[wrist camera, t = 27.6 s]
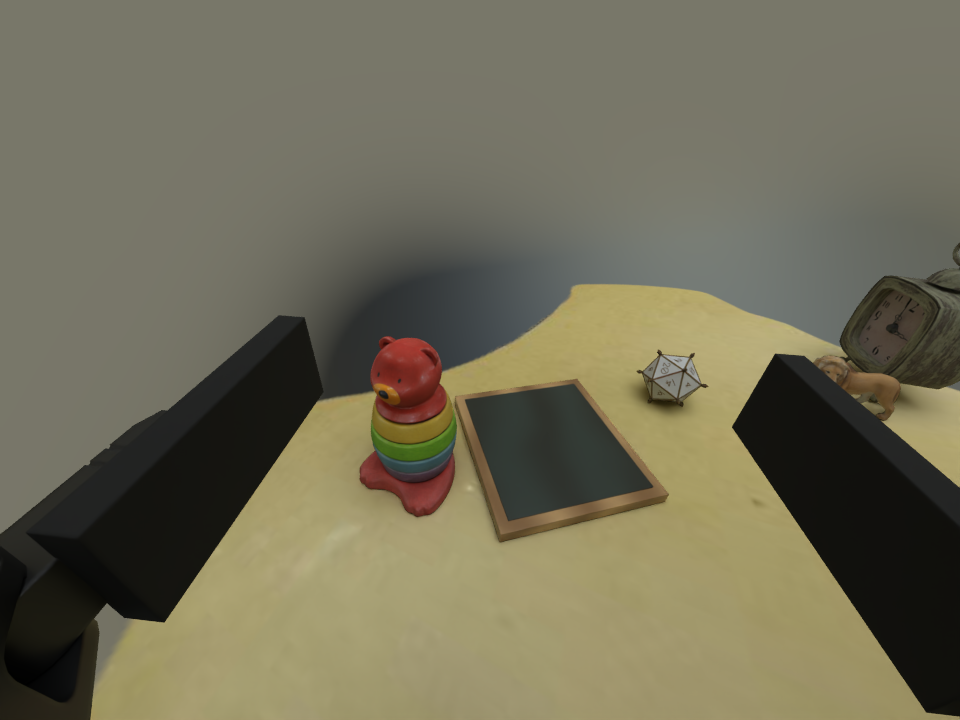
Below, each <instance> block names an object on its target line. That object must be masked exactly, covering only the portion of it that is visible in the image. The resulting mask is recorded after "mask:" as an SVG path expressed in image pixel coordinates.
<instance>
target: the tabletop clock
mask: <svg viewBox="0 0 960 720" xmlns="http://www.w3.org/2000/svg"><path fill="white" fill-rule="evenodd" d="M959 249H960V243H959V244H958V245H957V246H956V247H955V249H954V251H953V259H954V261H955V262H956V264H957V265H959V266H960V257H959V255H958V251H959ZM840 345H841V347H842V349H843V351H844V352H845V353H846V355H847V356H848V357H847V358H844V357H839V358H842V359H843V360H844V361H845V362H846V363H847V362H848V361H849V360H852V362H853V363H854V364H855V365H856V366H858V367H859V368H860V369H861V370H863V371H864V372H865V373H882V374H885V375H888V376H891V377H893V378H895V379H896V380H897V381H898V382H899V383H902V384H908V385H914V386H921V387H927V388H933V389H940V388H943V387H946V386H950V385H953V384H955V383H956V382H958V381H960V268H959V269H954V268H953V269H945V270H942V271H939V272H937V273H934V274H932V275H931V276H930V277H928V278H927V280H925V279H916V278H907V277H898V276H884V277H883V278H882V279H881V280H879V281H878V282H877V283H876V284H875V285H874V286H873V288H872V289H871V290H870V291H869V292H868V294H867V295H866V296H865V298H864V299H863V300H862V302H861V303H860V304H859V306H858V307H857V308H856V310H855V311H854V313H853V315H852V316H851V318H850V320H849V321H848V323H847V325H846V326H845V328H844V331H843V332H842V335H841V338H840ZM870 400H872V401H873V402H878V401H877V399H876V396H875V395H874V394H873V395H871V396H870Z"/></svg>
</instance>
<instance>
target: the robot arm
mask: <svg viewBox="0 0 960 720" xmlns="http://www.w3.org/2000/svg"><path fill="white" fill-rule="evenodd" d="M322 393H323V388H322V384H321V380H320V376H319V372H318V368H317V364H316V360H315V356H314V352H313V349H312V345H311V341H310V337H309V333H308V329H307V325H306V322H305V318H304V317H292V316H278V317H276V318H275V319H274V320H273V321H272V322H271V323H269V324H268V325H267V326H266V327H265V328H264V329H262V330H261V331H260V332H259V333H258V334H256V335H255V336H254V337H253V338H252V339H251V340H250V341H248V342H247V343H246V344H245V345H244V346H242V347H241V348H240V349H239V350H238V351H237V352H235V353H234V354H233V355H232V356H231V357H230V358H228V359H227V360H226V361H225V362H224V363H223V364H222V365H220V366H219V367H218V368H217V369H216V370H215V371H213V372H212V373H211V374H210V375H209V376H207V377H206V378H205V379H204V380H203V381H202V382H200V383H199V384H198V385H197V386H196V387H195V388H193V389H192V390H191V391H190V392H189V393H188V394H186V395H185V396H184V397H183V398H182V399H181V400H179V401H178V402H177V403H176V404H175V405H174V406H172V407H171V408H170V409H169V410H168V411H165V410H161V411H159V412H158V413H156V414H154V415H152V416H150V417H148V418H147V419H145V420H143V421H141V422H139V423H137V424H135V425H134V426H132V427H131V428H130V429H129V430H127V431H126V432H125V433H124V434H123V435H121V436H120V437H119V438H118V439H116V440H115V441H114V442H113V443H112V444H110V448H109V449H104V450H103V451H102V452H101V453H99V454H98V455H97V456H96V457H94V458H93V459H92V460H91V461H90V464H89V465H85V466H83V467H82V468H81V469H80V470H79V471H77V472H76V473H75V474H74V475H73V476H71V477H70V478H69V479H68V480H66V481H65V482H64V483H63V484H61V485H60V486H59V487H58V488H57V489H55V490H54V491H53V492H52V493H50V494H49V495H48V496H47V497H46V498H45V499H43V500H42V501H41V502H40V503H38V504H37V505H36V506H35V507H33V508H32V509H31V510H30V511H29V512H27V513H26V514H25V515H24V516H22V518H20V519H19V520H18V521H16V522H15V523H14V524H13V525H12V526H10V527H9V528H8V529H7V530H5V531H4V532H3V533H1V534H0V720H90V717H91V707H92V698H93V689H94V679H95V669H96V660H97V651H98V641H99V628H98V623H97V621H96V620H95V619H94V618H95V617H96V615H97V614H98V613H99V612H100V610H101V609H102V608H103V607H104V606H105V605H106V603H108V604H109V605H110V606H111V607H112V608H113V609H115V610H116V611H117V612H118V613H119V614H120V615H122V616H123V617H124V618H130V619H139V620H147V621H156V622H165V621H166V619H167V618H168V617H169V615H170V614H171V612H172V611H173V609H174V608H175V606H176V605H177V604H178V602H179V601H180V599H181V598H182V596H183V595H184V593H185V592H186V590H187V589H188V588H189V586H190V585H191V583H192V582H193V580H194V579H195V577H196V576H197V575H198V573H199V572H200V570H201V569H202V567H203V566H204V564H205V563H206V561H207V560H208V559H209V557H210V556H211V554H212V553H213V551H214V550H215V548H216V547H217V546H218V544H219V543H220V541H221V540H222V538H223V537H224V535H225V534H226V533H227V531H228V530H229V528H230V527H231V525H232V524H233V522H234V521H235V519H236V518H237V517H238V515H239V514H240V512H241V511H242V509H243V508H244V506H245V505H246V504H247V502H248V501H249V499H250V498H251V496H252V495H253V493H254V492H255V490H256V489H257V488H258V486H259V485H260V483H261V482H262V480H263V479H264V477H265V476H266V475H267V473H268V472H269V470H270V469H271V467H272V466H273V464H274V463H275V461H276V460H277V459H278V457H279V456H280V454H281V453H282V451H283V450H284V448H285V447H286V446H287V444H288V443H289V441H290V440H291V438H292V437H293V435H294V434H295V433H296V431H297V430H298V428H299V427H300V425H301V424H302V422H303V421H304V419H305V418H306V417H307V415H308V414H309V412H310V411H311V409H312V408H313V406H314V405H315V404H316V402H317V401H318V399H319V398H320V396H321V395H322ZM732 428H733V429H734V431H735V432H736V434H737V435H738V437H739V438H740V440H741V441H742V443H743V444H744V446H745V447H746V448H747V450H748V451H749V453H750V454H751V456H752V457H753V459H754V460H755V462H756V463H757V465H758V466H759V468H760V469H761V471H762V472H763V473H764V475H765V476H766V478H767V479H768V481H769V482H770V484H771V485H772V487H773V488H774V490H775V491H776V493H777V494H778V495H779V497H780V498H781V500H782V501H783V503H784V504H785V506H786V507H787V509H788V510H789V512H790V513H791V515H792V516H793V517H794V519H795V520H796V522H797V523H798V525H799V526H800V528H801V529H802V531H803V532H804V534H805V535H806V537H807V538H808V539H809V541H810V542H811V544H812V545H813V547H814V548H815V550H816V551H817V553H818V554H819V556H820V557H821V559H822V560H823V562H824V563H825V564H826V566H827V567H828V569H829V570H830V572H831V573H832V575H833V576H834V578H835V579H836V581H837V582H838V584H839V585H840V586H841V588H842V589H843V591H844V592H845V594H846V595H847V597H848V598H849V600H850V601H851V603H852V604H853V606H854V607H855V608H856V610H857V611H858V613H859V614H860V616H861V617H862V619H863V620H864V622H865V623H866V625H867V626H868V628H869V629H870V630H871V632H872V633H873V635H874V636H875V638H876V639H877V641H878V642H879V644H880V645H881V647H882V648H883V650H884V651H885V653H886V654H887V655H888V657H889V658H890V660H891V661H892V663H893V664H894V666H895V667H896V669H897V670H898V672H899V673H900V675H901V676H902V677H903V679H904V680H905V682H906V683H907V685H908V686H909V688H910V689H911V691H912V692H913V694H914V695H915V697H916V698H917V699H918V701H919V702H920V704H921V705H922V707H923V708H924V710H925V711H926V713H935V714H943V715H951V716H960V487H958V486H957V485H956V484H954V483H953V482H952V481H951V480H950V479H949V478H947V477H946V476H945V475H944V474H943V473H941V472H940V471H939V470H938V469H937V468H936V467H934V466H933V465H932V464H931V463H930V462H929V461H927V460H926V459H925V458H924V457H923V456H921V455H920V454H919V453H918V452H917V451H916V450H914V449H913V448H912V447H911V446H910V445H909V444H907V443H906V442H905V441H904V440H903V439H901V438H900V437H899V436H898V435H897V434H896V433H894V432H893V431H892V430H891V429H890V428H889V427H887V426H886V425H885V424H884V423H883V422H881V421H880V420H879V419H878V418H877V417H876V416H874V415H873V414H872V413H871V412H870V411H869V410H867V409H866V408H865V407H864V406H863V405H861V404H860V403H859V402H858V401H857V400H856V399H854V398H853V397H852V396H851V395H850V394H849V393H847V392H846V391H845V390H844V389H843V388H841V387H840V386H839V385H838V384H837V383H836V382H834V381H833V380H832V379H831V378H830V377H829V376H827V375H826V374H825V373H824V372H823V371H821V370H820V369H819V368H818V367H817V366H816V365H814V364H813V363H812V362H811V361H810V360H809V359H807V358H806V357H805V356H799V355H786V354H775V355H774V356H773V358H772V360H771V362H770V363H769V365H768V367H767V368H766V370H765V372H764V373H763V375H762V377H761V379H760V380H759V382H758V384H757V385H756V387H755V389H754V390H753V392H752V394H751V396H750V397H749V399H748V401H747V402H746V404H745V406H744V407H743V409H742V411H741V413H740V414H739V416H738V418H737V419H736V421H735V423H734V424H733V426H732Z"/></svg>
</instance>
